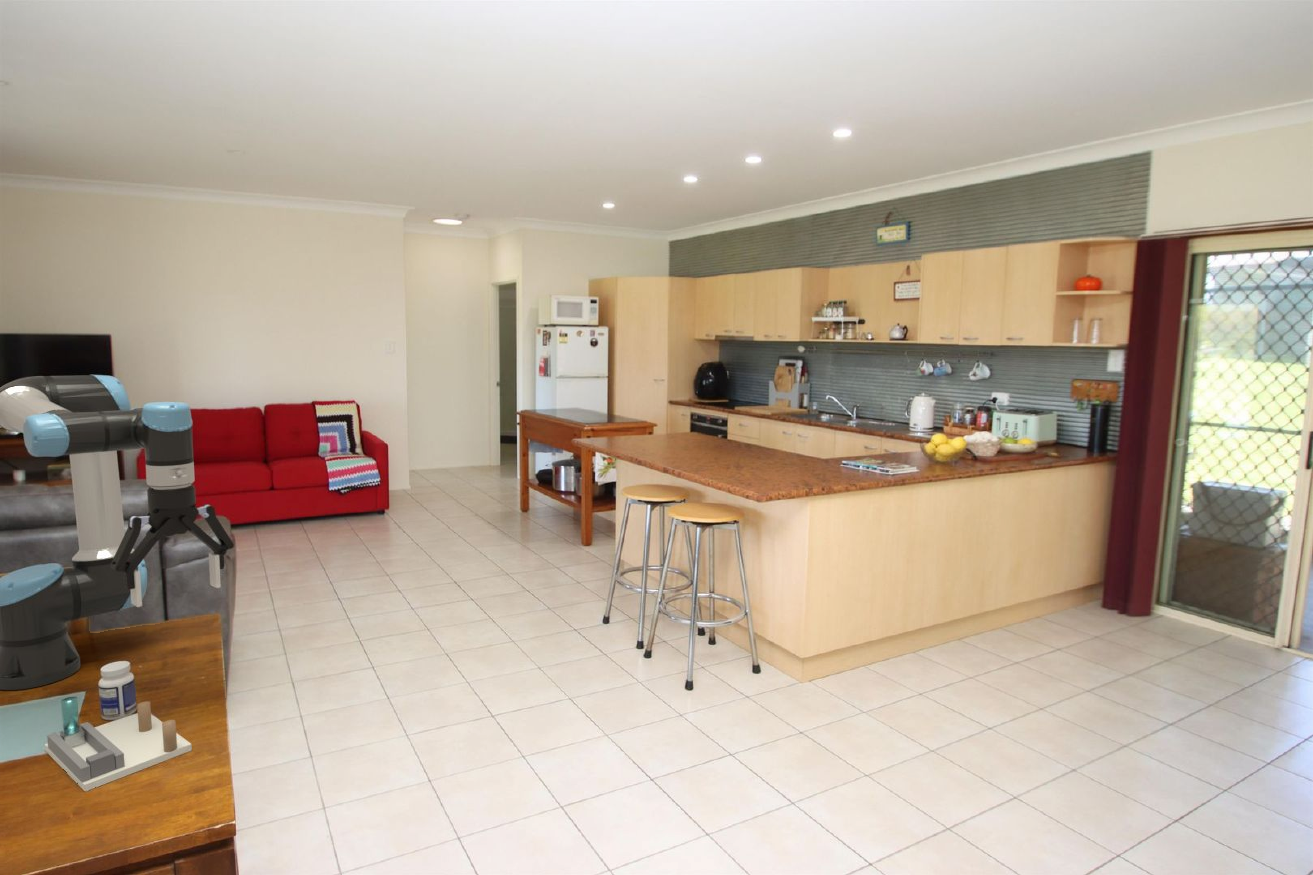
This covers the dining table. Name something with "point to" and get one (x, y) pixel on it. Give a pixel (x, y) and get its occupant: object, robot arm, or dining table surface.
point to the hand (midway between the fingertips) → (177, 595)
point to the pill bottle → (117, 691)
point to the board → (118, 748)
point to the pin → (71, 723)
